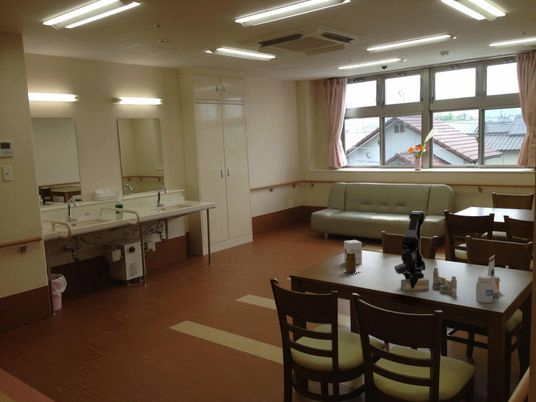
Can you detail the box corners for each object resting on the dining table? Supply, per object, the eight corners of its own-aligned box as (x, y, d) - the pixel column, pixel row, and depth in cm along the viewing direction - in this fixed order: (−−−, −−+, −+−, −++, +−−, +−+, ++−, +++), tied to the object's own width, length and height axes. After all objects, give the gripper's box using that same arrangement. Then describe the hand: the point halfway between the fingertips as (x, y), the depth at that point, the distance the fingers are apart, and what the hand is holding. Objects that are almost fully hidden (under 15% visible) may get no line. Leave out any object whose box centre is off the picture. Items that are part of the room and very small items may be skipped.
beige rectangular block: (400, 288, 252) (400, 279, 251) (425, 286, 254) (425, 277, 254) (404, 290, 248) (404, 281, 247) (428, 288, 250) (428, 279, 250)
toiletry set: (490, 304, 223) (491, 262, 221) (473, 301, 228) (474, 260, 226) (504, 291, 242) (505, 252, 240) (488, 289, 247) (489, 251, 245)
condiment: (349, 270, 294) (349, 251, 292) (361, 272, 288) (360, 253, 287) (342, 272, 288) (342, 253, 287) (354, 274, 283) (354, 255, 281)
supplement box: (343, 262, 313) (343, 240, 311) (355, 261, 316) (355, 239, 314) (350, 265, 304) (349, 243, 303) (362, 264, 307) (362, 242, 305)
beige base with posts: (427, 285, 257) (427, 267, 255) (436, 284, 257) (436, 266, 256) (447, 296, 237) (447, 277, 236) (456, 295, 238) (457, 276, 236)
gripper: (389, 256, 257) (389, 283, 259) (404, 264, 238) (404, 293, 240) (408, 254, 259) (408, 282, 260) (424, 262, 240) (424, 292, 242)
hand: (410, 287), depth 251 cm, fingers closed on beige rectangular block, 4 cm apart
